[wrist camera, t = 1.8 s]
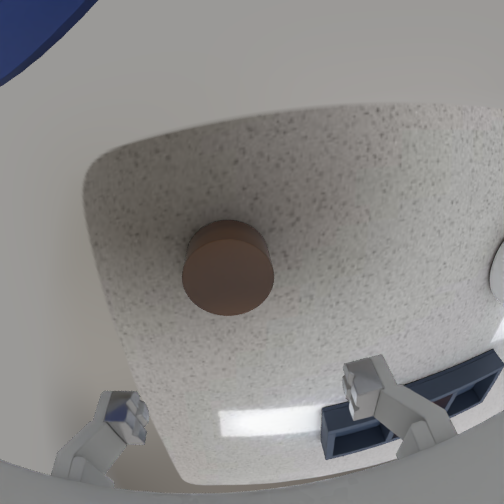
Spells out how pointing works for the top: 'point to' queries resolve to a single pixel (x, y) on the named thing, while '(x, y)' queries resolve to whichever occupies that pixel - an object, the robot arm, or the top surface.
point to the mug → (498, 275)
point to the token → (227, 268)
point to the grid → (432, 388)
